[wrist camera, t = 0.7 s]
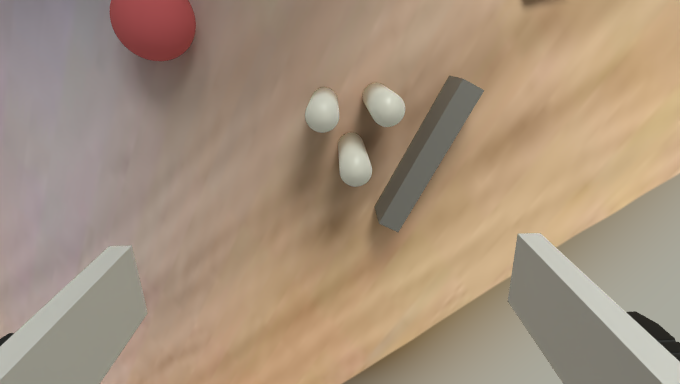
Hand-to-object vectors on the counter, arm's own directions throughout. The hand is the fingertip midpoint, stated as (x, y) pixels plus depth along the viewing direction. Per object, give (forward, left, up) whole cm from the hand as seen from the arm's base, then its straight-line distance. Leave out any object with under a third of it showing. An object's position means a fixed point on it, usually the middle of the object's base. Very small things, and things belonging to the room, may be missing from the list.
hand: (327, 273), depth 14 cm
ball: (-12, -11, -22) cm, 27 cm away
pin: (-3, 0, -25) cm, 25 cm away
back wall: (+3, +8, -25) cm, 26 cm away
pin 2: (-2, +5, -25) cm, 25 cm away
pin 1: (+2, +2, -25) cm, 25 cm away
